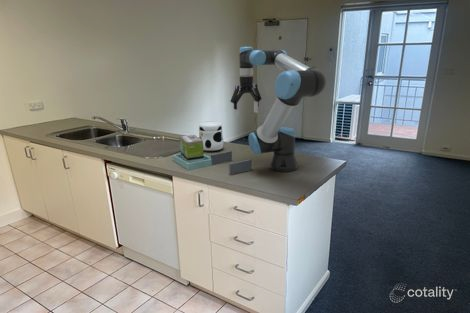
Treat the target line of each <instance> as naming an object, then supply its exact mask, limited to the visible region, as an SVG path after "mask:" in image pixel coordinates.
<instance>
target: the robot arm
mask: <svg viewBox="0 0 470 313" xmlns="http://www.w3.org/2000/svg"><path fill="white" fill-rule="evenodd" d="M238 55H239V75H240V76H239V85H237V84H236V85H235V86H234V91H233V93H232V96H231V99H230V103H232V104H233V110H234V115H235V116H239V115H240V113H239V101H240V100H241V99H242V97H243V95H244V94H250V96H252V98H253V100H254V101H253V113H254V114H255V113H256V114H258V113H259V107H260V101H262V96H261V94H260V91H259V88H258V84H256V83H254V77H253V76H254V66H256V67H257V66H259V67H260V66H275V67H277V68H278V69H280V70H281V71H282V72H281V73H279V74H278V76H277V77H276V80H275V83H274V85H275V86H274V92H275V95H276V99H275V101H274V103H273V104H272V106H271V108H270V110H269V112H268V114H267V116H266V118H265V120H264V122H263V124H261V125H260V126H258V127H257V129H256V131H255V132H254V131H253V132H250V133H249V135H248V144H249V145H248V146H249V148H250V151H251V153H252V154H255V155H263V154H268V153H273V155H272V158H271V161H270V164H269V169H271V170H273V171H276V172H282V173H285V172H286V173H289V172H293V171H296V170H297V169H298V163H297V159H296V155H295V152H296V151H295V148H296V130H295V129H294V128H292V127H289V126H283V125H284V123H285V122H286V119H288V116H290V113H291V111H292V109H293V108H294V107H296V106H298V105H299V104H300V103H301V102H302V100H303V99H305V98H312V97H313V98H314V97H317V96H318V95H320V94H321V93H322V92H323V91H324V90H325V88H326V85H327V78H326V75H325V74H324V72H323V71H322V70H320V69H319V68H317V67H315V66H308V65H306V64H304V63H303V62H300V61H299V60H296V59H294V58H293V57H291V56H288V53H287V51H286V50H284V49H274V50H273V49H272V50H267V49H266V50H265V49H264V50H263V49H254V48H253V47H252V46H240V47H239V54H238Z"/></svg>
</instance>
